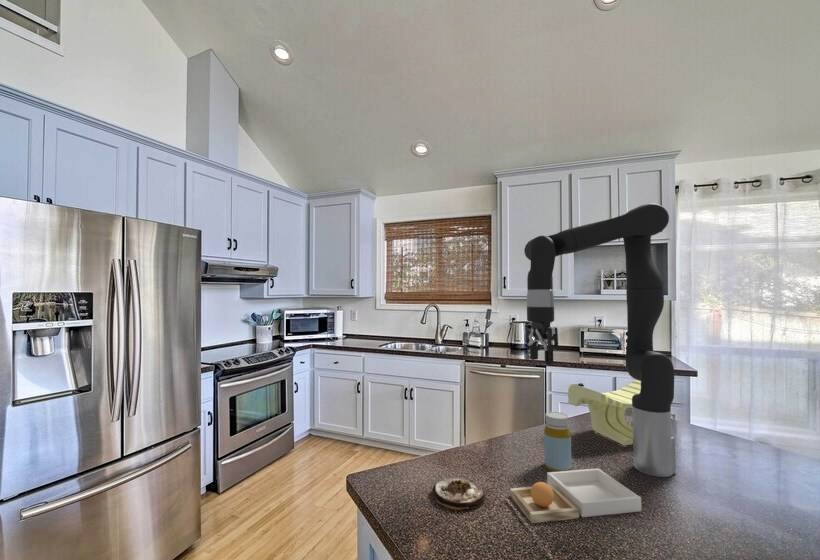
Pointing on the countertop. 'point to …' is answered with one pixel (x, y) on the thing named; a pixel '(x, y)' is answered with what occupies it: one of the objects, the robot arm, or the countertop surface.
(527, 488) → the tray
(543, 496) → the ball
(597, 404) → the pale yellow ridged piece
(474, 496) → the sushi roll
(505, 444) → the countertop surface
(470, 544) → the countertop surface
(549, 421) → the bottle
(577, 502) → the dish
